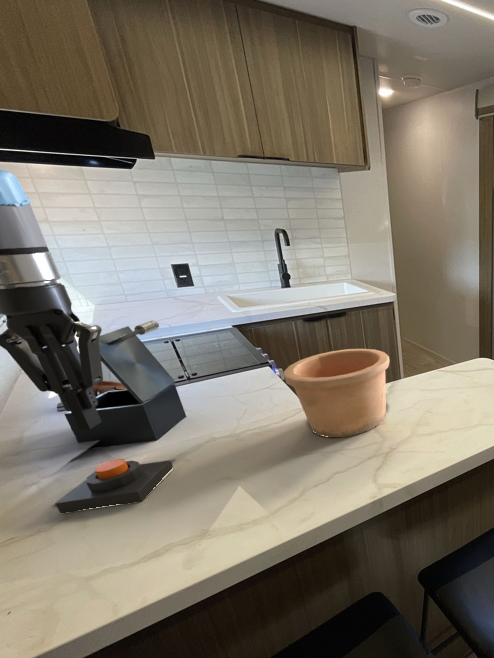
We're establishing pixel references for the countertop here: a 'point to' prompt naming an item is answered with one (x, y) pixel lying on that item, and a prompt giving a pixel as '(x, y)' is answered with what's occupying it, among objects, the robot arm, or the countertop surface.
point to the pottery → (341, 390)
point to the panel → (115, 487)
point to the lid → (134, 361)
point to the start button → (111, 468)
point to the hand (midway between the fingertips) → (91, 426)
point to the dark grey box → (131, 418)
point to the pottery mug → (107, 387)
